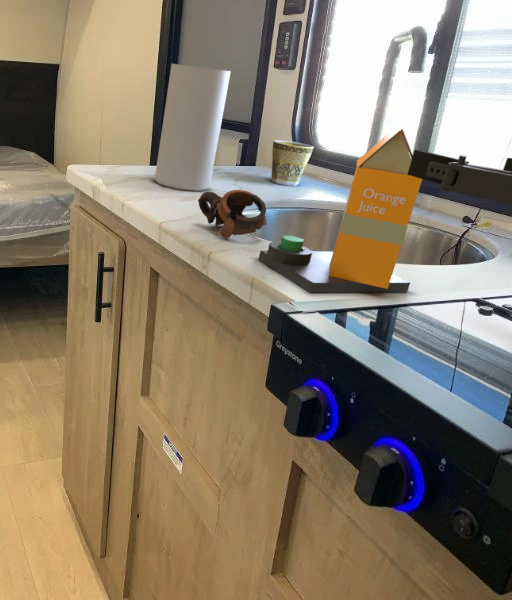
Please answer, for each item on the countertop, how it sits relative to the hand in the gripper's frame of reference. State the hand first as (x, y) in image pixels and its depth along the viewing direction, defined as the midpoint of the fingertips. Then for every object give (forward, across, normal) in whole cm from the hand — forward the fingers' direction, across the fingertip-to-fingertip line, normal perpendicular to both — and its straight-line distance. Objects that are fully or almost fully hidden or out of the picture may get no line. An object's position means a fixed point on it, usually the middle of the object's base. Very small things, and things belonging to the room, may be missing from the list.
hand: (460, 166), depth 68 cm
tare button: (+16, -8, -16) cm, 24 cm away
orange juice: (+10, 0, -17) cm, 20 cm away
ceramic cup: (+82, +34, -19) cm, 90 cm away
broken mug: (+33, -8, -18) cm, 39 cm away
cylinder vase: (+70, -1, -19) cm, 73 cm away
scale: (+13, -2, -18) cm, 23 cm away
